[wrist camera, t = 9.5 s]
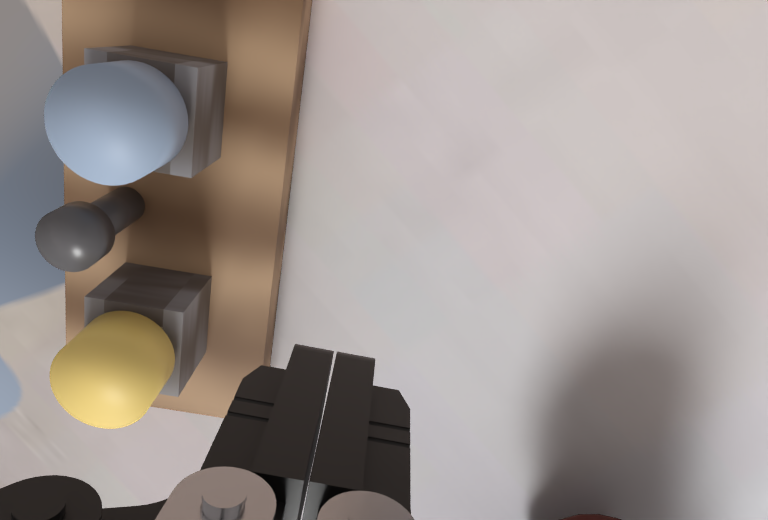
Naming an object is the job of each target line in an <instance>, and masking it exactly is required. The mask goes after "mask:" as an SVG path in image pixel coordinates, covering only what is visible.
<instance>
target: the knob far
mask: <svg viewBox="0 0 768 520" xmlns="http://www.w3.org/2000/svg"><path fill="white" fill-rule="evenodd" d="M174 365H175V354H174V349H173V346H172V343H171V341H170V339H169V337H168V336H167V334H166V333H165V332H164V330H163V327H160V326H159V325H157V324H156V323H155V322H154V321H152V320H151V319H149V318H147V317H145V316H143V315H141V314H138V313H134V312H130V311H112V312H107V313H104V314H102V315H100V316H98V317H96V318H95V319H94V320H92V321H91V322H90V323H89V324H88V325H87V326H86V327H85V328H84V329H83V330H82V331H81V332H79V333H78V334H77V335H76V336H75V337H74V338H73V339H72V340H71V341H70V342H69V343H68V344H67V345H65V346H64V347H63V348H62V349H61V350H60V351H59V352H58V354H57V355H56V356H55V358H54V360H53V362H52V364H51V368H50V384H51V388H52V391H53V393H54V395H55V397H56V399H57V401H58V402H59V403H60V405H61V406H62V407H63V408H64V409H65V410H66V411H67V412H68V413H69V414H70V415H72V416H73V417H74V418H76V419H78V420H79V421H81V422H83V423H86V424H88V425H91V426H94V427H99V428H106V429H115V428H121V427H125V426H128V425H131V424H133V423H135V422H136V421H138V420H139V419H140V418H142V416H143V415H144V414H145V413H146V412H147V410H148V409H149V407H150V406H151V404H152V403H153V401H154V400H155V398H156V397H157V395H158V394H159V393H160V391H161V390H162V388H163V387H164V385H165V384H166V382H167V381H168V379H169V378H170V376H171V374H172V372H173V369H174Z"/></svg>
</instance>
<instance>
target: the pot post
mask: <svg viewBox="0 0 768 520" xmlns="http://www.w3.org/2000/svg"><path fill="white" fill-rule="evenodd" d="M144 210H145V203H144V200H143V198H142V196H141V195H140V194H139V193H138V192H137V191H136V190H135V189H133V188H130V187H119V188H117V189H115V190H113V191H111V192H109V193H108V194H106V195H104V196H102V197H100V198H99V199H97V200H95V201H93V202H91V203H88V202H84V201H74V202H70V203H67V204H65V205H63V206H62V207H60V208H58V209H56V210H54V211H52V212H50V213H48V214H46V215H45V216H44V217H43V218H42V219H41V220H40V221H39V223H38V224H37V227H36V231H35V241H36V245H37V247H38V250H39V252H40V253H41V255H42V256H43V257H44V258H45V260H46V261H47V262H49V263H50V264H51V265H53V266H54V267H56V268H58V269H60V270H63V271H67V272H80V271H83V270H86V269H88V268H89V267H91V266H92V265H94V264H95V263H96V262H98V261H99V260H100V259H102V258H103V257H104V256H105V255H107V254H108V253H109V252H110V251H111V249H112V247H113V245H114V242H115V235H117V234H118V233H119V232H121V231H122V230H124V229H125V228H126V227H128V226H129V225H131V224H132V223H133V222H135V221H136V220H138V219H139V218H140V217H141V216H142V215H143V213H144Z"/></svg>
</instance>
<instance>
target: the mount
mask: <svg viewBox="0 0 768 520" xmlns="http://www.w3.org/2000/svg"><path fill="white" fill-rule="evenodd" d="M311 6H312V0H62V45H63V74H64V73H66V72H67V71H69V70H71V69H73V68H75V67H78V66H81V65H87V64H95V63H103V62H112V61H121V60H131V61H138V62H142V63H145V64H148V65H150V66H152V67H154V68H156V69H158V70H159V71H161V72H162V73H163V74H165V75H166V76H167V77H168V78H169V79H170V80H171V81H172V82H173V83H174V85H175V86H176V87H177V89H178V90H179V92H180V94H181V96H182V98H183V100H184V103H185V105H186V109H187V114H188V132H187V136H186V140H185V142H184V145H183V147H182V148H181V150H180V152H179V153H178V154H177V155H176V156H175V157H174V158H173V159H172V160H171V161H170V162H168V163H167V164H165V165H163V166H162V167H160V168H158V169H156V170H154V171H153V172H151V173H149V174H147V175H146V176H144V177H142V178H140V179H138V180H136V181H134V182H132V183H128V184H124V185H116V186H110V185H102V184H98V183H94V182H92V181H89V180H87V179H85V178H83V177H81V176H79V175H78V174H76V173H75V172H73V171H72V170H71V169H70V168H68V167H67V166H66V165H65V164H64V205H65V204H67V203H70V202H74V201H84V202H88V203H91V202H93V201H95V200H97V199H99V198H100V197H102V196H104V195H106V194H108V193H109V192H111V191H113V190H115V189H117V188H119V187H130V188H133V189H135V190H136V191H137V192H138V193H139V194H140V195H141V196H142V198H143V200H144V203H145V210H144V213H143V215H142V216H141V217H140V218H139V219H138V220H136V221H135V222H133V223H132V224H131V225H129V226H128V227H126V228H125V229H124V230H122V231H121V232H119V233H118V234H117V235H115V242H114V245H113V247H112V249H111V251H110V252H109V253H108V254H107V255H105V256H104V257H103V258H102V259H100V260H99V261H98V262H96V263H95V264H94V265H92V266H91V267H89V268H88V269H86V270H83V271H80V272H67V271H65V297H66V345H67V344H68V343H69V342H70V341H71V340H72V339H73V338H74V337H75V336H76V335H77V334H78V333H79V332H81V331H82V330H83V329H84V328H85V327H86V326H87V325H88V324H89V323H90V322H91V321H92V320H94V319H95V318H96V317H98V316H100V315H102V314H104V313H107V312H112V311H130V312H134V313H138V314H141V315H143V316H145V317H147V318H149V319H151V320H152V321H154V322H155V323H156V324H157V325H159V326H160V327H163V330H164V332H165V333H166V334H167V336H168V337H169V339H170V341H171V343H172V346H173V349H174V354H175V365H174V369H173V372H172V374H171V376H170V378H169V379H168V381H167V382H166V384H165V385H164V387H163V388H162V390H161V391H160V393H159V394H158V395H157V397H156V398H155V400H154V401H153V403H152V404H151V407H157V408H164V409H170V410H176V411H183V412H189V413H195V414H202V415H208V416H214V417H221V418H225V416H226V415H227V411H228V409H229V407H230V405H231V403H232V400H234V396H235V394H236V392H237V390H238V387H239V385H240V383H241V381H242V379H243V378H244V377H245V376H247V375H248V374H250V373H251V372H252V371H254V370H255V369H257V368H258V367H259V366H261V365H263V366H268V367H270V361H271V353H272V344H273V335H274V327H275V318H276V309H277V301H278V292H279V283H280V275H281V266H282V257H283V249H284V240H285V231H286V223H287V214H288V205H289V197H290V188H291V179H292V171H293V162H294V153H295V145H296V136H297V127H298V119H299V110H300V101H301V93H302V84H303V75H304V67H305V58H306V49H307V41H308V32H309V23H310V15H311Z"/></svg>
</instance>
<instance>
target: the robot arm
mask: <svg viewBox="0 0 768 520" xmlns="http://www.w3.org/2000/svg"><path fill="white" fill-rule="evenodd" d="M333 353H334V351H331V350H325V349H320V348H314V347H309V346H304V345H298V344H295V346H294V349H293V351H292V354H291V357H290V360H289V363H288V366H287V369H286V370H285V369H279V368H274V367H268V366H263V365H261V366H259V367H258V368H257V369H255V370H254V371H252V372H251V373H250V374H248V375H247V376H245V377H244V378H243V379H242V381H241V383H240V385H239V387H238V390H237V392H236V394H235V396H234V400H232V403H231V405H230V407H229V409H228V411H227V415H226V416H225V418H224V420H223V422H222V424H221V426H220V428H219V431H218V433H217V435H216V437H215V439H214V441H213V444H212V446H211V448H210V450H209V452H208V454H207V457H206V459H205V461H204V463H203V465H202V467H201V470H200V471H197V472H195V473H193V474H191V475H189V476H188V477H186V478H184V479H183V480H182V481H181V482H180V483H179V484H178V485H177V486H176V487H175V488H174V490H173V491H172V493H171V494H170V496H169V498H168V499H166V500H163V501H160V502H157V503H152V504H148V505H141V506H130V507H117V508H104V509H102V502H101V499H100V496H99V495H98V493H97V492H96V490H95V489H94V488H92V487H91V486H90V485H89V484H87V483H85V482H84V481H81V480H79V479H76V478H72V477H67V476H58V475H52V476H40V477H33V478H29V479H25V480H22V481H19V482H16V483H13V484H11V485H8V486H6V487H3V488H1V489H0V520H300V519H301V515H302V510H303V505H304V501H305V496H306V492H307V496H306V502H305V507H304V513H303V518H302V520H414V519H413V517H412V516H411V510H410V432H409V431H410V408H409V406H408V405H407V403H406V402H405V400H404V398H403V397H402V395H401V393H400V392H399V390H394V389H389V388H383V387H378V386H373V377H374V367H375V359H374V358H369V357H364V356H358V355H353V354H347V353H342V352H337V354H336V359H335V364H334V368H333V373H332V378H331V382H330V387H329V392H328V396H327V401H326V406H325V410H324V415H323V420H322V424H321V419H322V413H323V408H324V403H325V397H326V392H327V386H328V381H329V375H330V370H331V364H332V359H333ZM320 424H321V429H320ZM319 430H320V433H319ZM318 435H319V438H318ZM317 440H318V443H317ZM316 445H317V447H316ZM315 450H316V452H315ZM314 455H315V457H314ZM313 459H314V461H313ZM312 464H313V466H312ZM311 468H312V471H311ZM310 473H311V475H310ZM309 478H310V480H309ZM308 482H309V485H308ZM307 487H308V491H307Z"/></svg>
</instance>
